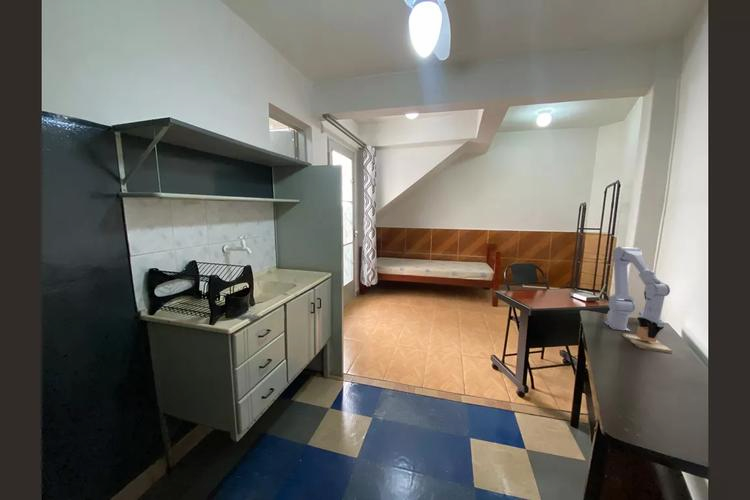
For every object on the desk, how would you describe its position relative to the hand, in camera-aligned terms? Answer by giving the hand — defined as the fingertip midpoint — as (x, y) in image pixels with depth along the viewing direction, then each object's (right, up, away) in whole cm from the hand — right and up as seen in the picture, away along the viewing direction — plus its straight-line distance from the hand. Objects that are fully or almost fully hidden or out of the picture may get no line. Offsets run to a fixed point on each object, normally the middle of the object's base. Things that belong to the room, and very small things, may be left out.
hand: (647, 335), depth 133 cm
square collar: (0, -2, 0) cm, 2 cm away
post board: (0, -4, +1) cm, 4 cm away
